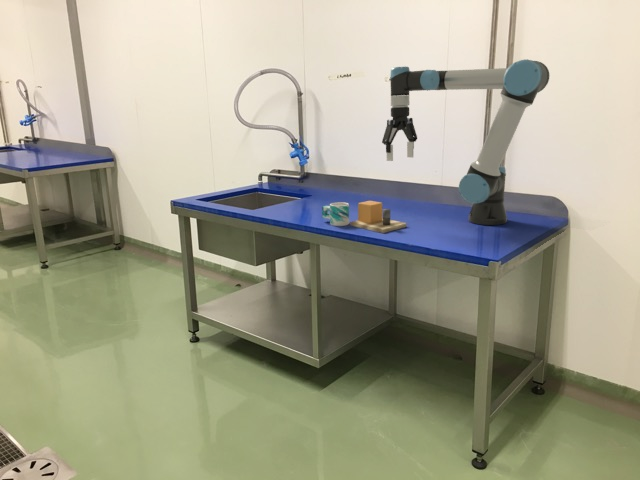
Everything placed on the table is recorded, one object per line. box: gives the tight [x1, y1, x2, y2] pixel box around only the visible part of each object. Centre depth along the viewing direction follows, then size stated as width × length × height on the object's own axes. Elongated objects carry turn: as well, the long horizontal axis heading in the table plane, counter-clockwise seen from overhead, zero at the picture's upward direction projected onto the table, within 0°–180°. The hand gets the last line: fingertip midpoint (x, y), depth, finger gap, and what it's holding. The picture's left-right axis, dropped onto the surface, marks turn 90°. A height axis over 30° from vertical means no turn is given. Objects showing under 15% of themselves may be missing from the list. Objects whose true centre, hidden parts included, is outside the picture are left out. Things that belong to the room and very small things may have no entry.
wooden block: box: [357, 200, 383, 224], centre depth 219 cm, size 7×7×8 cm
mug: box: [321, 201, 350, 227], centre depth 224 cm, size 8×12×8 cm
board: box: [349, 208, 408, 234], centre depth 216 cm, size 18×14×8 cm
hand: (400, 159), depth 223 cm, fingers open, 13 cm apart
